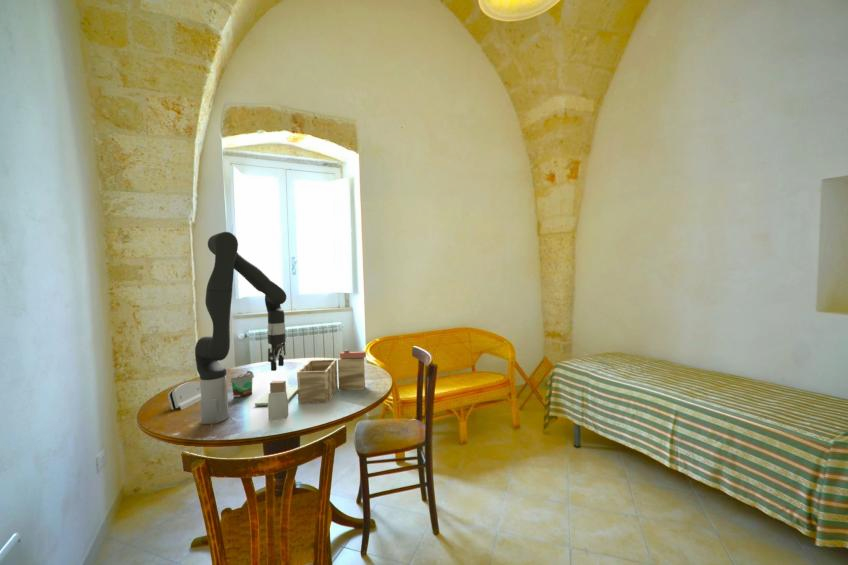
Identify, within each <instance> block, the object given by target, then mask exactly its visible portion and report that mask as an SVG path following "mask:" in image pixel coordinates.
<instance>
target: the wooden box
mask: <svg viewBox="0 0 848 565" xmlns="http://www.w3.org/2000/svg"><path fill="white" fill-rule="evenodd" d="M365 372H366V371H365V358H340V356H339V357H338V359H311V360H308V362H306V363H305V364H304V365H303V366H302V367H301V368H300V369H299V370H298V371H297V372H296V378H297V379H296V380H297V382H296V383H297V387H298V391H297V399H298V400H297V402H298V404H301V405H302V404H303V405H304V404H328V403H329V402H330V401H331V399H332V398H333V396H334V394H335V392H336V391H337V390H336V389H338V391H339V390H342V391H364V390H365V389H366V376H365Z"/></svg>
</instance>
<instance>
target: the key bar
mask: <svg viewBox="0 0 848 565" xmlns="http://www.w3.org/2000/svg"><path fill="white" fill-rule="evenodd" d="M339 357H340V358H364V359H365V358H366V357H367V351H366V350H365V351H350V349H344V351H340V352H339Z"/></svg>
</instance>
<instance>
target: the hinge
mask: <svg viewBox="0 0 848 565" xmlns="http://www.w3.org/2000/svg"><path fill="white" fill-rule="evenodd" d="M167 398H168V401H169V406H170V409H172V410H175V409H178V408H180V410H181V411H183V410H184V409H186V408H188V407H191V406H193V405H195V404H197V403H198V402H200V401H201V387H200V381H198V380H195V381H194V380H193V381H187V382H185V383H181V384H180V385H177V386H175V387H174V388H173V389H172V390H171V391H169V392H168V394H167Z"/></svg>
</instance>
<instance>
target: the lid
mask: <svg viewBox="0 0 848 565" xmlns="http://www.w3.org/2000/svg"><path fill="white" fill-rule="evenodd" d="M269 387H270V388H269V389H270V390H268V391H267V392H266V393H265V394H264V395H263V396H261V397H260V398H259V399H257V401H256V402H254V406H268V398H269V393H280V392H287V399H288V402H289V401H290V400H291V399H292V398H293V397H294V395H296V393H298V386H290V387H289V386H288V387H287V386H286V380H272V381H271V382H269Z"/></svg>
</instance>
